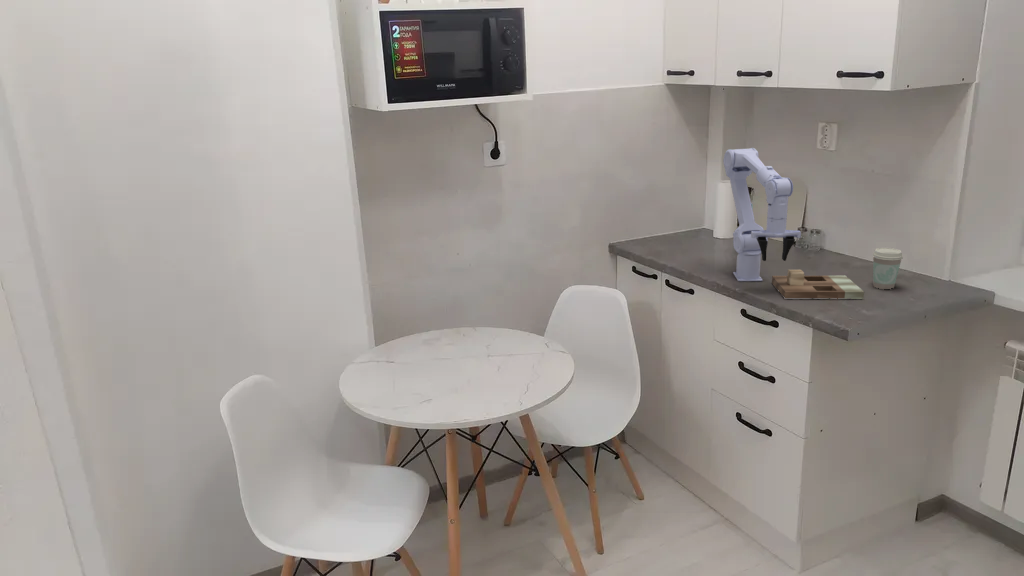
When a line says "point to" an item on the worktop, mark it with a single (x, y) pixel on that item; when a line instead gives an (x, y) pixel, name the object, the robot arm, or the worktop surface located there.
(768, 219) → the robot arm
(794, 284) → the beech block
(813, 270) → the worktop surface
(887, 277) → the coffee cup
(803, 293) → the board
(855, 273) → the worktop surface
